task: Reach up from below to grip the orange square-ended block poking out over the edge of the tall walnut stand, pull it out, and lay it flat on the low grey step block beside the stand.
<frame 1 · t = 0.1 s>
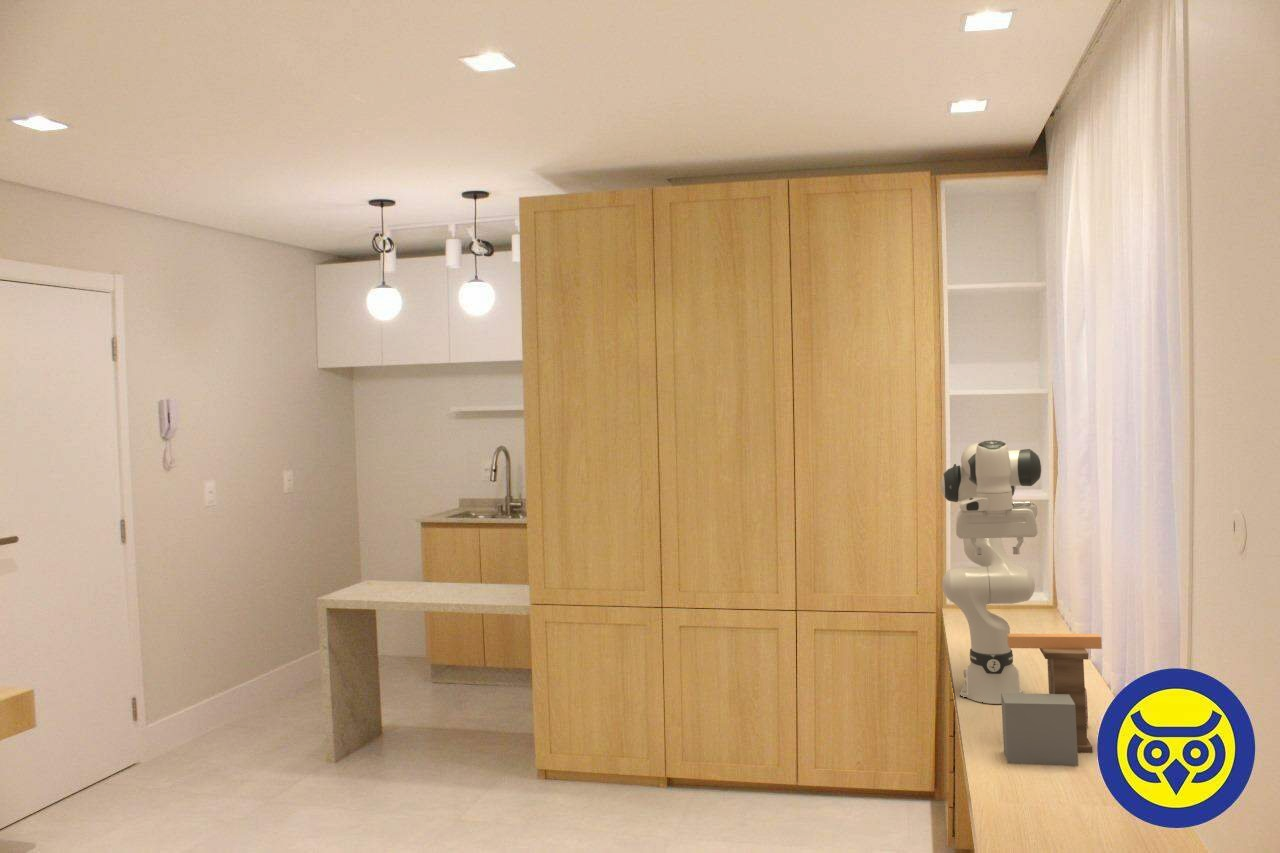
hand: (997, 554, 257), 48 cm above the cabinet, tool pointing down, fingers open, 8 cm apart
walnut stand: (1066, 743, 248), on the cabinet
soda can: (1073, 727, 260), on the cabinet
grey step block: (1040, 758, 240), on the cabinet
orange square-ended block: (1053, 646, 248), point 25 cm above the cabinet, touching walnut stand
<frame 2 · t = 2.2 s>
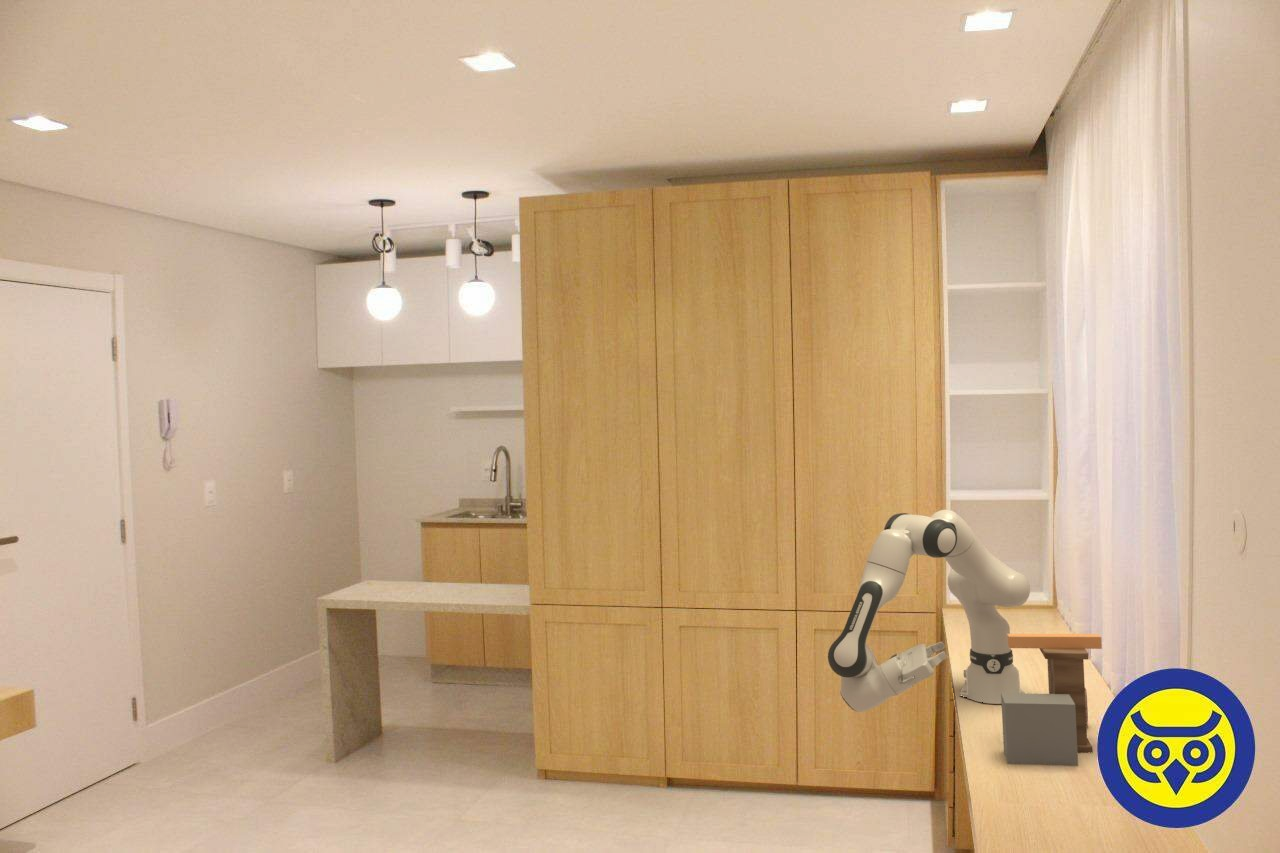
hand: (944, 648, 255), 24 cm above the cabinet, tool pointing upward, fingers open, 8 cm apart
nothing on the cabinet moved.
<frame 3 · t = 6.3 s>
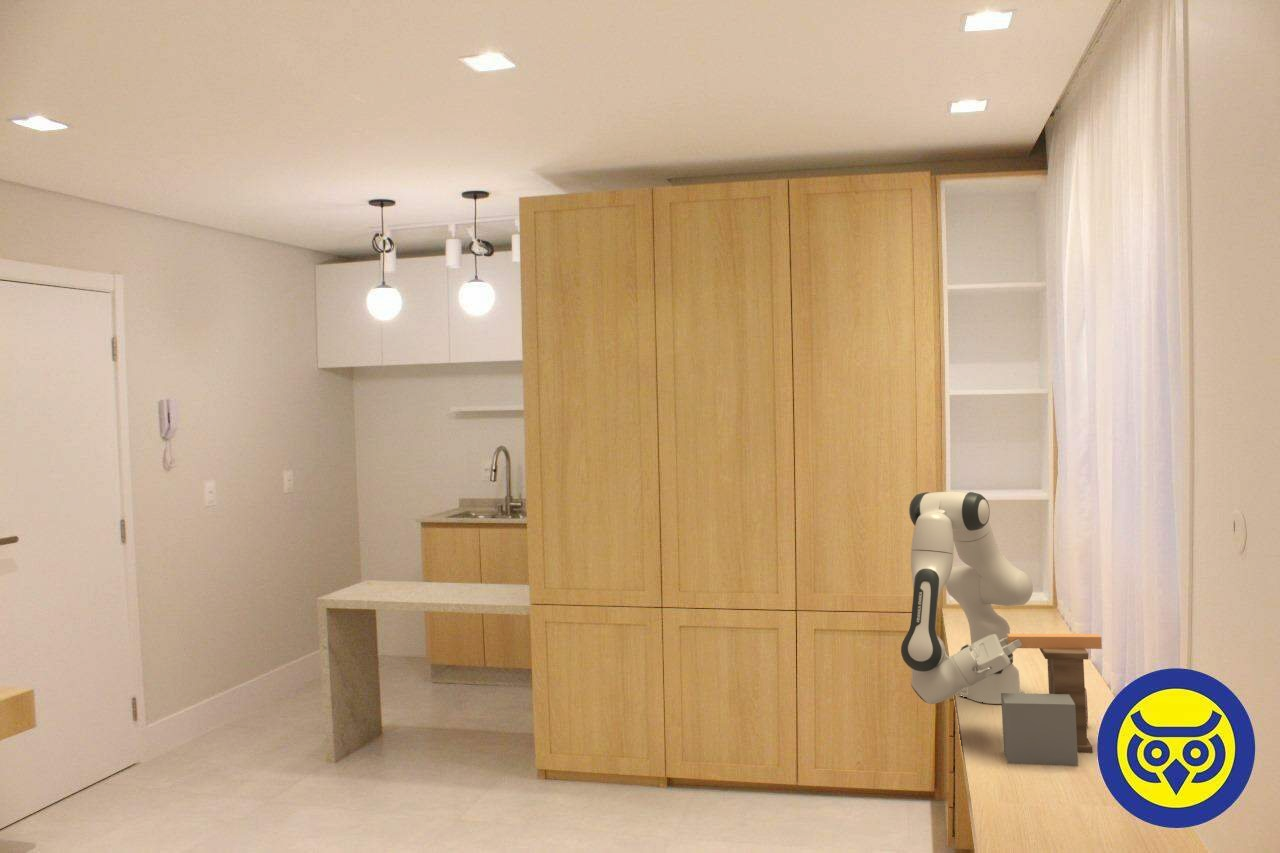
hand: (1019, 639, 250), 27 cm above the cabinet, tool pointing upward, fingers closed on orange square-ended block, 3 cm apart
orange square-ended block: (1053, 646, 248), point 25 cm above the cabinet, touching gripper, walnut stand
everything else where it was.
when the fingers open (18 cm above the cabinet, at t = 14.2 s): orange square-ended block drops 1 cm, resting on grey step block.
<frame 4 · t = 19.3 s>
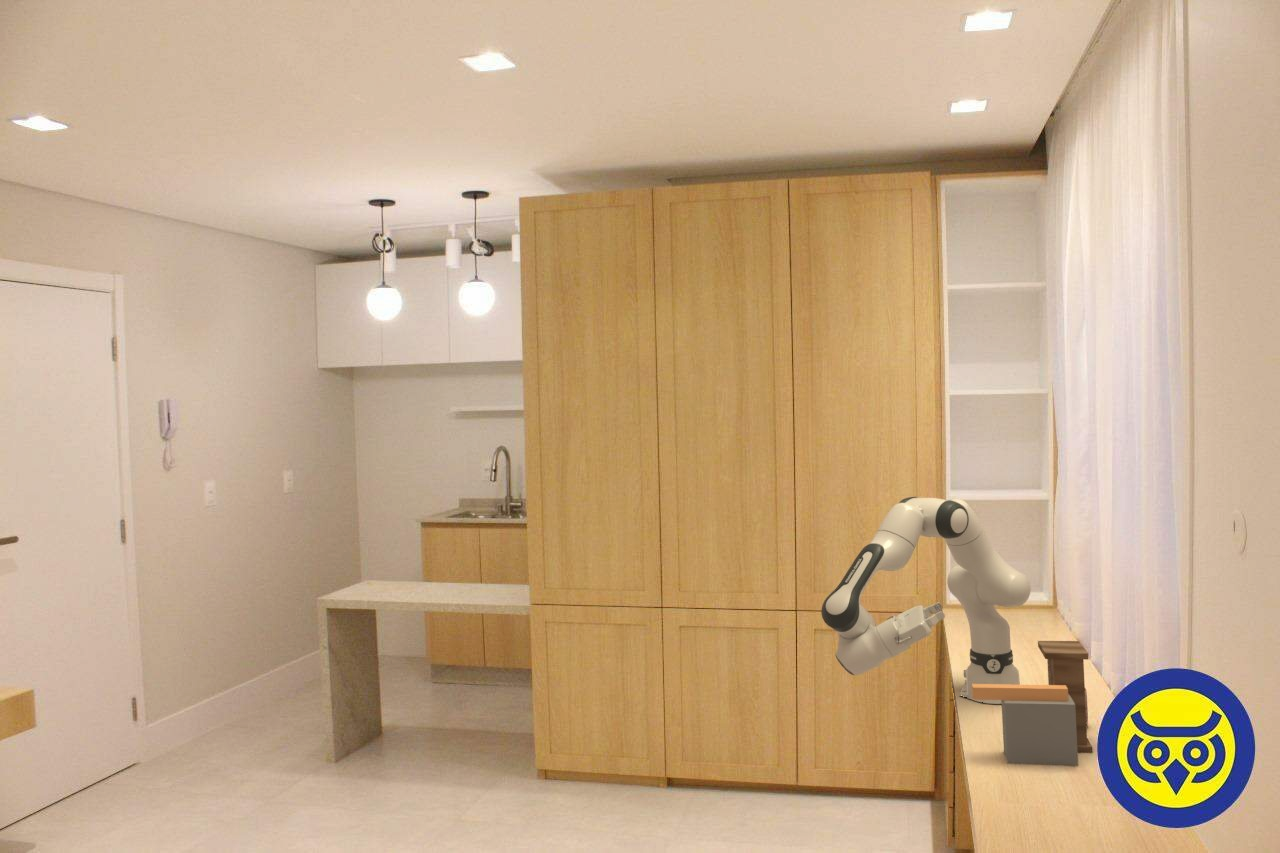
hand: (942, 609, 248), 36 cm above the cabinet, tool pointing upward, fingers open, 8 cm apart
orange square-ended block: (1019, 698, 240), point 15 cm above the cabinet, touching grey step block
everything else where it was.
at the end: orange square-ended block inside the target area (0.1 cm from its centre), point 15.0 cm above the cabinet; orange square-ended block touching grey step block; the gripper is holding nothing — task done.
